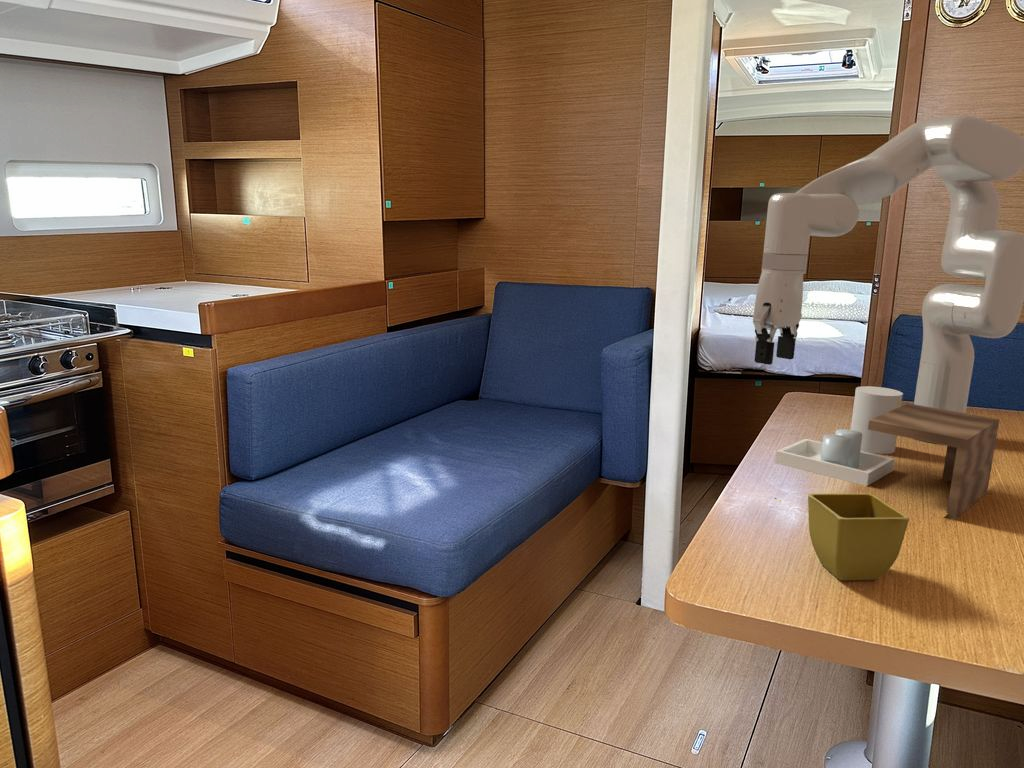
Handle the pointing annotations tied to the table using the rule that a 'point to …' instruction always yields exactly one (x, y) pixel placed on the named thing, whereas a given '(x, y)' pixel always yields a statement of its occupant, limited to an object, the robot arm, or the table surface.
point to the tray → (809, 459)
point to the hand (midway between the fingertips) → (774, 360)
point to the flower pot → (855, 534)
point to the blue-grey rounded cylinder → (835, 449)
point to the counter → (949, 447)
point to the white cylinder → (870, 406)
